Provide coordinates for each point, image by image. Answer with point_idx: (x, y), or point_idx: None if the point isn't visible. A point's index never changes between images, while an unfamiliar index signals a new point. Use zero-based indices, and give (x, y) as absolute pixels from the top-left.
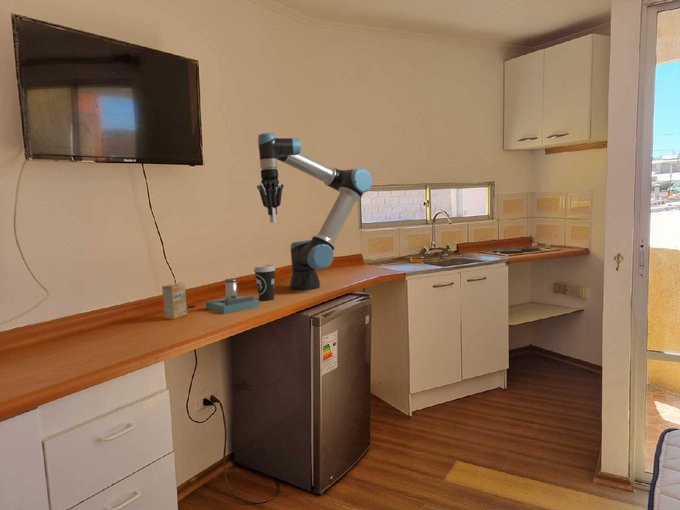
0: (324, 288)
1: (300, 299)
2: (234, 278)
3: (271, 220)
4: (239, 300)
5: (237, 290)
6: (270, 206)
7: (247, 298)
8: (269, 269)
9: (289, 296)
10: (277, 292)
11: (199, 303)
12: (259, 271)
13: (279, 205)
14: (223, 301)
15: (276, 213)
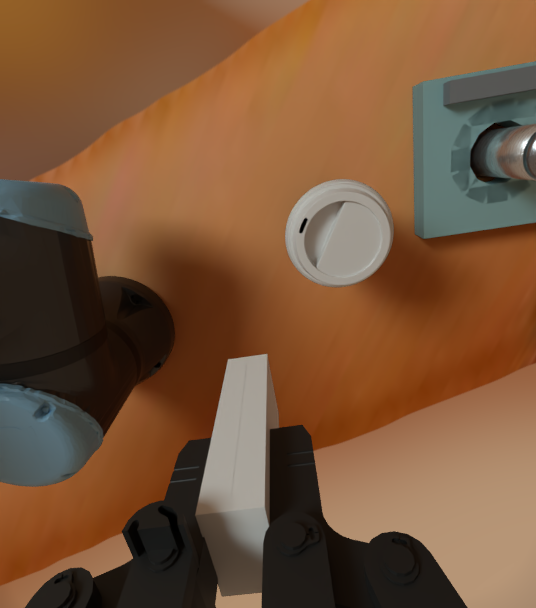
0: None
1: (228, 108)
2: (531, 167)
3: (274, 405)
4: (519, 68)
5: (503, 140)
6: (310, 537)
7: (480, 75)
8: (339, 184)
9: (234, 206)
10: (234, 315)
11: (509, 327)
12: (385, 202)
13: (68, 574)
14: None
15: (189, 452)
